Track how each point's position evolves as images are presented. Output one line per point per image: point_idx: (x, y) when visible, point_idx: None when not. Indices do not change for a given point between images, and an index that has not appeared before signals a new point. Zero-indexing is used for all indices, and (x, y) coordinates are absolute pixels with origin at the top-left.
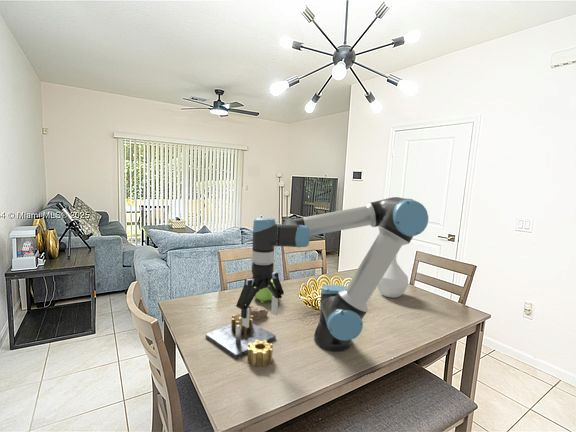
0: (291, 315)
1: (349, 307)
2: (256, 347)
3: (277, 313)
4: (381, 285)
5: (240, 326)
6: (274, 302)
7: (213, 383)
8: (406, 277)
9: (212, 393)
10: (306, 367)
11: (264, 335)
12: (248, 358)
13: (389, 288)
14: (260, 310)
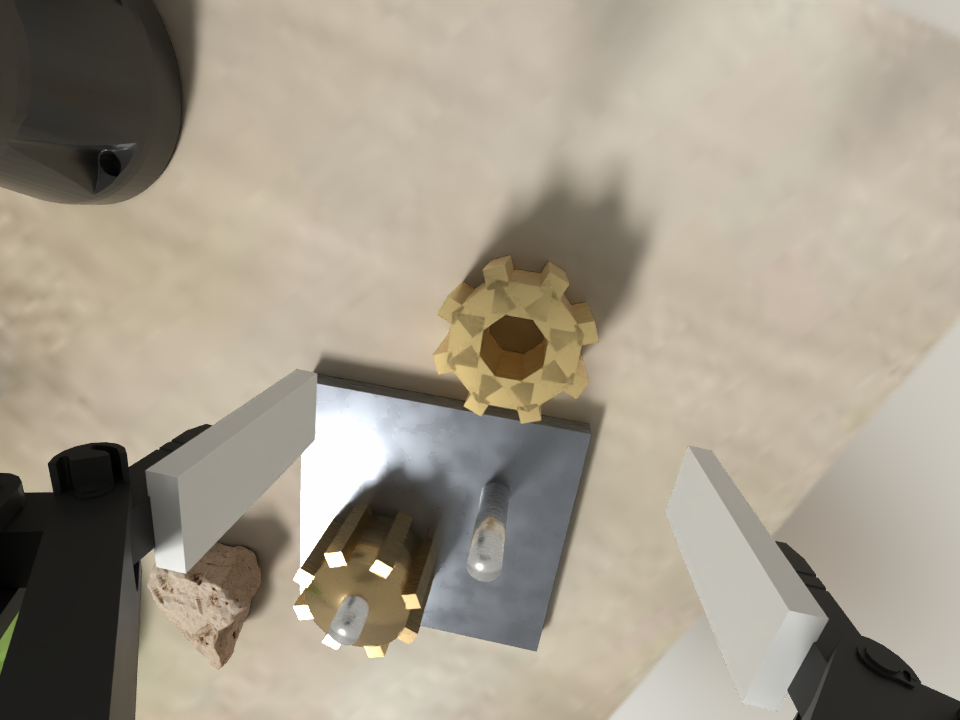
0: (72, 439)
1: None
2: (512, 372)
3: (290, 377)
4: None
5: (483, 553)
6: (230, 479)
7: (817, 385)
8: None
9: (887, 339)
10: (407, 50)
11: (346, 428)
12: (582, 362)
13: None
14: (194, 580)
